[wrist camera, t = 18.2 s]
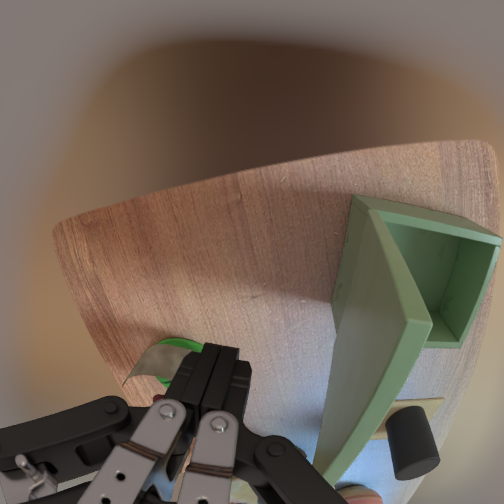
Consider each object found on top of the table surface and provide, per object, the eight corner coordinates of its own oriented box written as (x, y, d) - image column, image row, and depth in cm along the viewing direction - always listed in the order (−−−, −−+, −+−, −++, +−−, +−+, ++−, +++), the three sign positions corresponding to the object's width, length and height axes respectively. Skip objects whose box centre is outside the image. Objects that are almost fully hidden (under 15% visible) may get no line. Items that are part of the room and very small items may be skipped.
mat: (444, 397, 33) (444, 399, 32) (416, 434, 36) (417, 436, 36) (390, 400, 34) (390, 402, 33) (366, 438, 37) (366, 439, 37)
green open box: (467, 218, 24) (503, 238, 18) (437, 314, 28) (460, 348, 22) (352, 193, 26) (371, 208, 19) (330, 303, 30) (337, 343, 23)
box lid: (434, 324, 6) (406, 319, 6) (317, 504, 10) (302, 502, 10) (378, 211, 19) (367, 208, 19) (342, 347, 23) (333, 345, 23)
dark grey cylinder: (431, 404, 33) (449, 454, 24) (413, 429, 35) (425, 477, 26) (395, 406, 34) (409, 461, 24) (378, 431, 36) (387, 483, 27)
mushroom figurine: (250, 393, 36) (230, 489, 22) (171, 399, 39) (135, 477, 25) (217, 324, 32) (173, 428, 18) (132, 338, 35) (74, 417, 21)
